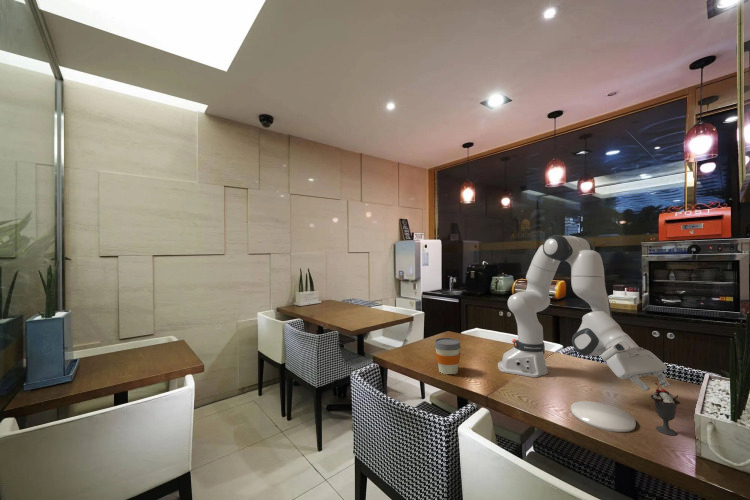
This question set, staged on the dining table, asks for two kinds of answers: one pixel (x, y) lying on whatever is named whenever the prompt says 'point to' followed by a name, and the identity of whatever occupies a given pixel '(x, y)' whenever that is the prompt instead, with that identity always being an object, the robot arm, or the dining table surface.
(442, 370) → the reusable coffee cup
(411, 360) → the dining table surface
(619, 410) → the serving plate
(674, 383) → the dining table surface
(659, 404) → the sundae
